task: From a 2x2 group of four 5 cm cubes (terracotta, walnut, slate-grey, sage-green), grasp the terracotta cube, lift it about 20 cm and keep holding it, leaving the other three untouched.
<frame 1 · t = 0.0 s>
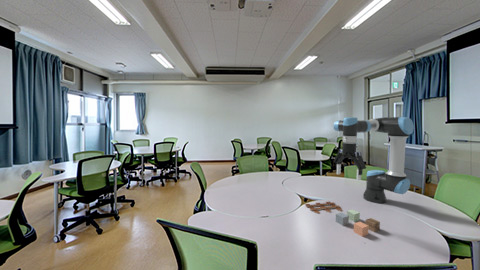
hand: (348, 176, 120), 28 cm above the table, fingers open, 13 cm apart
slate block: (341, 222, 120), on the table
walnut block: (372, 229, 113), on the table
terracotta block: (360, 233, 109), on the table
decorative fence: (323, 208, 141), on the table
sage block: (353, 219, 124), on the table
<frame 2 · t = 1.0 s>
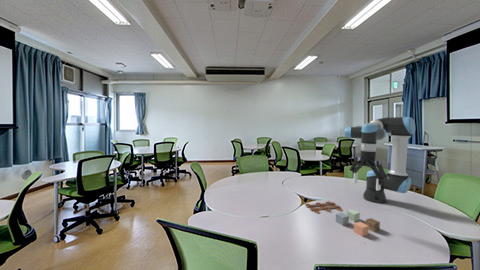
hand: (366, 186, 115), 24 cm above the table, fingers open, 13 cm apart
nothing on the table moved.
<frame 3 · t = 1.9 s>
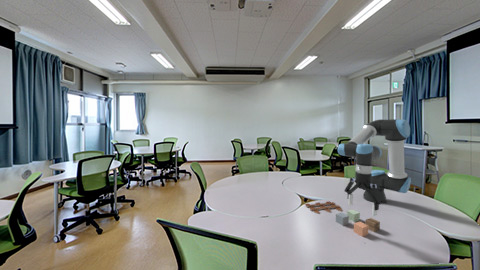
hand: (361, 210, 108), 13 cm above the table, fingers open, 13 cm apart
nothing on the table moved.
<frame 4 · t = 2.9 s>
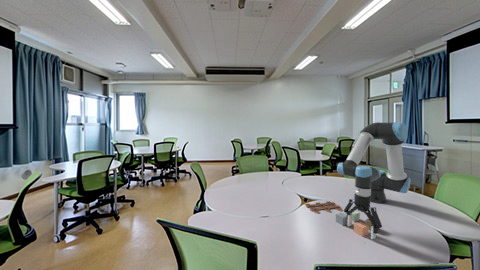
hand: (360, 231, 109), 1 cm above the table, fingers open, 13 cm apart
nothing on the table moved.
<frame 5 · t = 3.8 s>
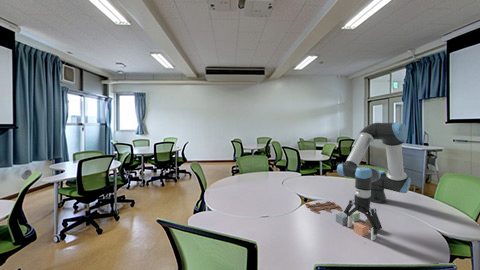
hand: (360, 232, 109), 0 cm above the table, fingers open, 13 cm apart
nothing on the table moved.
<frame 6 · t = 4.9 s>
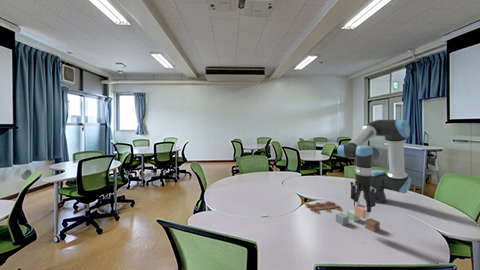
hand: (361, 214, 108), 10 cm above the table, fingers closed on terracotta block, 5 cm apart
terracotta block: (361, 215, 108), point 10 cm above the table, touching gripper
everything else where it was.
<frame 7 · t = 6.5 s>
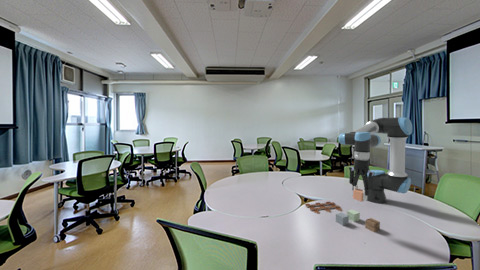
hand: (360, 198, 113), 18 cm above the table, fingers closed on terracotta block, 5 cm apart
terracotta block: (360, 199, 113), point 17 cm above the table, touching gripper
everything else where it was.
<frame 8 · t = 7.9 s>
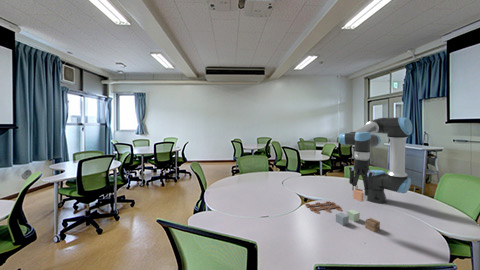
hand: (360, 198, 113), 18 cm above the table, fingers closed on terracotta block, 5 cm apart
terracotta block: (360, 199, 113), point 17 cm above the table, touching gripper
everything else where it was.
at the end: the gripper is holding terracotta block; terracotta block point 17.3 cm above the table; slate block moved 0.1 cm from its start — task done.
